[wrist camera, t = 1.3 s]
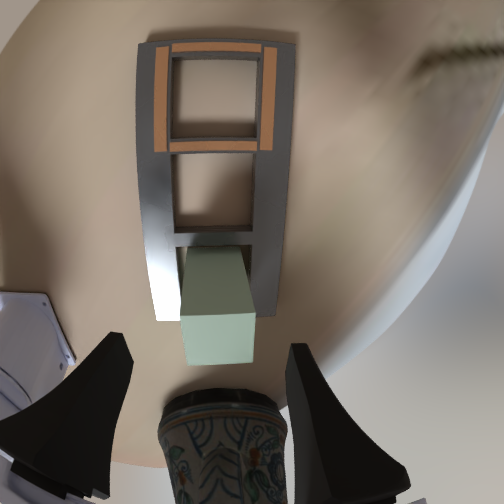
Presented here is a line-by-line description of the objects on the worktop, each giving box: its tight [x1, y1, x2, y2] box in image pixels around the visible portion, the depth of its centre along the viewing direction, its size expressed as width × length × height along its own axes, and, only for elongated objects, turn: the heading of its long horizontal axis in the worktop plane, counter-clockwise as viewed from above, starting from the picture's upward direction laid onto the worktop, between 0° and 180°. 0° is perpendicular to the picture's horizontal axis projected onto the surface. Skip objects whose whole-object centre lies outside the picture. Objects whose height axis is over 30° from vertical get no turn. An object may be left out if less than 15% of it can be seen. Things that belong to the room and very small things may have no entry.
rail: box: [136, 39, 296, 320], centre depth 19 cm, size 21×10×1 cm, turn 178°
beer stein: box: [158, 388, 288, 504], centre depth 21 cm, size 16×19×25 cm
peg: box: [180, 247, 256, 365], centre depth 19 cm, size 4×4×8 cm
